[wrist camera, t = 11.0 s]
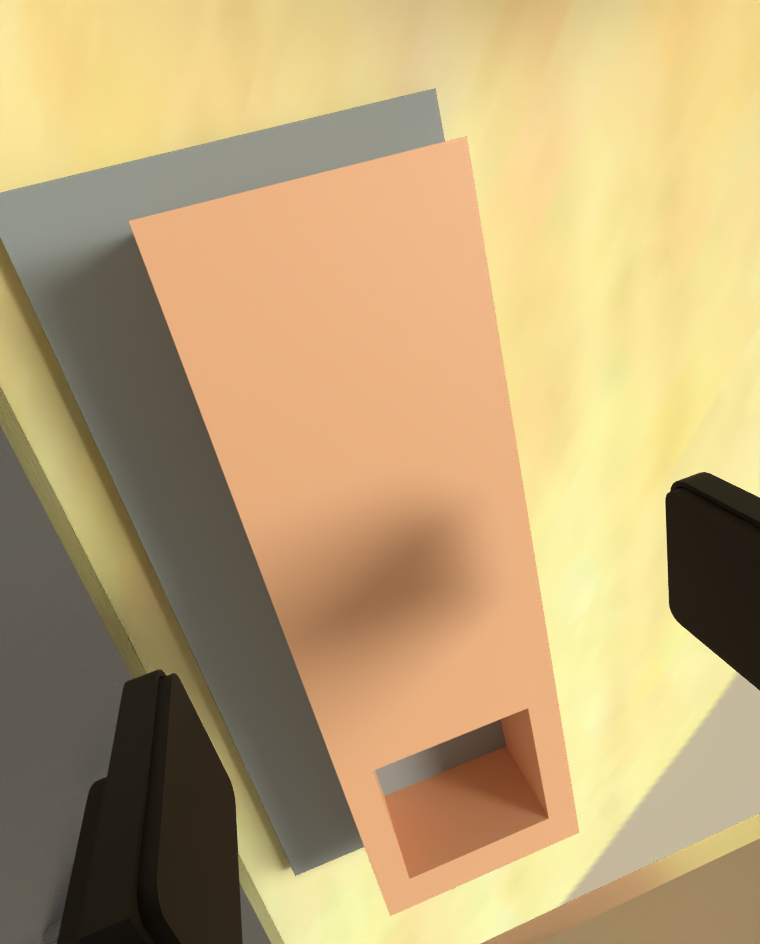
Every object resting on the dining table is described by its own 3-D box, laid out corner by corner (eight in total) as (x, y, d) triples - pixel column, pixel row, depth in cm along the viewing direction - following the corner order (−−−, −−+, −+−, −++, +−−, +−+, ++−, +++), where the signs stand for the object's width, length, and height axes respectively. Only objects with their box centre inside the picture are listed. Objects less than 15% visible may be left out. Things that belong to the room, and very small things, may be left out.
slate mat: (-12, 199, 13) (-19, 197, 12) (429, 92, 14) (435, 88, 14) (293, 865, 21) (295, 875, 21) (549, 757, 23) (555, 765, 22)
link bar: (146, 227, 13) (128, 220, 11) (418, 158, 14) (466, 136, 11) (367, 829, 21) (390, 916, 18) (533, 760, 22) (579, 832, 19)
